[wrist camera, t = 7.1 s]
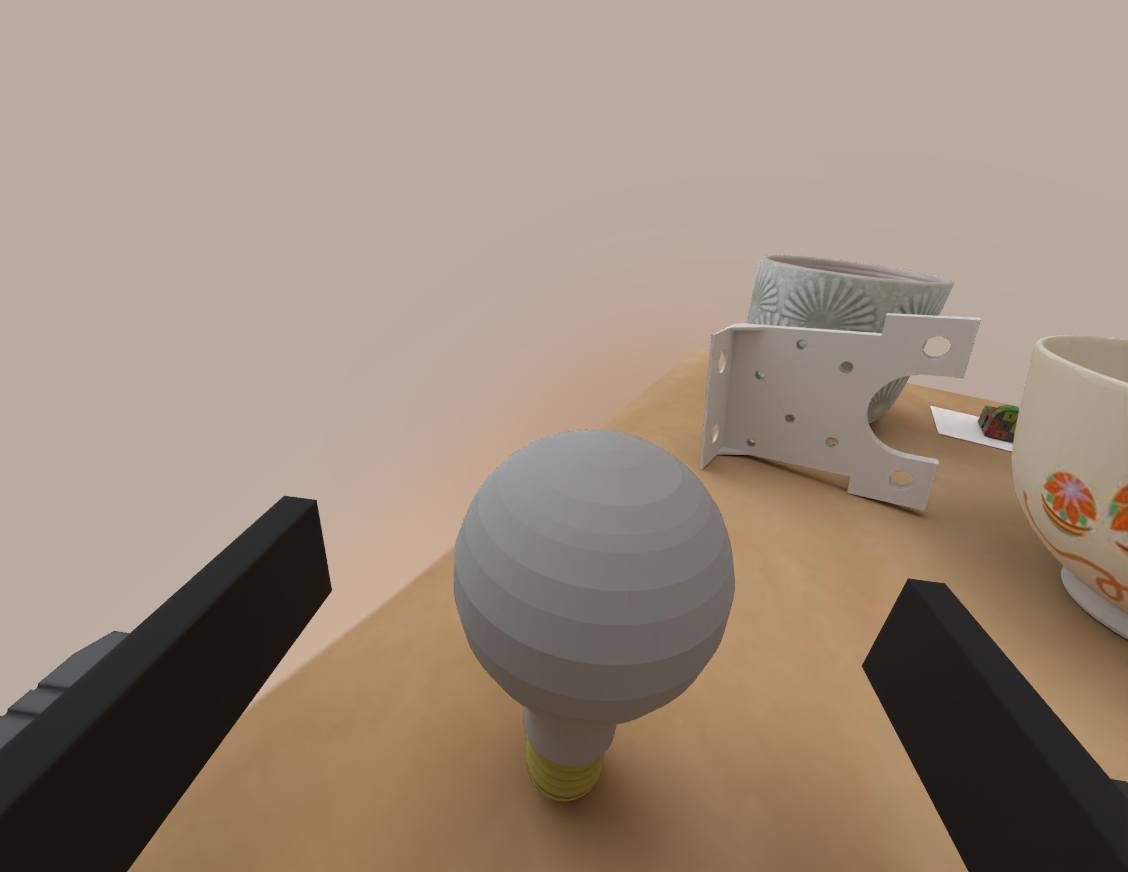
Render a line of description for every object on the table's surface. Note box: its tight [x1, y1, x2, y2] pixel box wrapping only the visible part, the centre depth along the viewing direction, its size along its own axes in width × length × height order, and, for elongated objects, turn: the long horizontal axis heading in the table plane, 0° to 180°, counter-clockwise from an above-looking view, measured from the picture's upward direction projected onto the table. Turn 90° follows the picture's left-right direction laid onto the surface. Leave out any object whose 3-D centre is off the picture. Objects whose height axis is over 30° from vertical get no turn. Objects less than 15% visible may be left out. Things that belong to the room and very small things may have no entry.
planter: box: [746, 255, 954, 423], centre depth 37 cm, size 12×12×11 cm
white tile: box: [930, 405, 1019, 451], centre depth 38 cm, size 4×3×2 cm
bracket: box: [700, 313, 981, 511], centre depth 26 cm, size 11×4×10 cm, turn 54°
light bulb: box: [454, 429, 735, 802], centre depth 11 cm, size 6×6×10 cm
